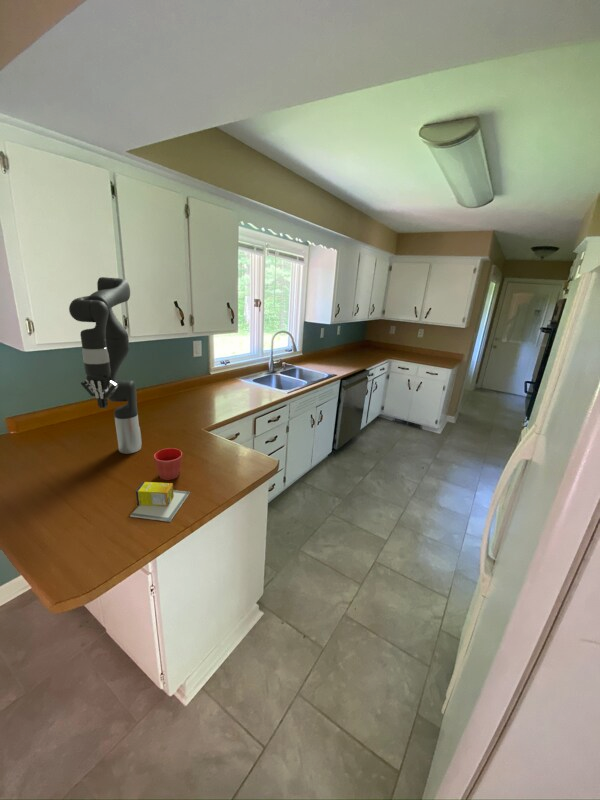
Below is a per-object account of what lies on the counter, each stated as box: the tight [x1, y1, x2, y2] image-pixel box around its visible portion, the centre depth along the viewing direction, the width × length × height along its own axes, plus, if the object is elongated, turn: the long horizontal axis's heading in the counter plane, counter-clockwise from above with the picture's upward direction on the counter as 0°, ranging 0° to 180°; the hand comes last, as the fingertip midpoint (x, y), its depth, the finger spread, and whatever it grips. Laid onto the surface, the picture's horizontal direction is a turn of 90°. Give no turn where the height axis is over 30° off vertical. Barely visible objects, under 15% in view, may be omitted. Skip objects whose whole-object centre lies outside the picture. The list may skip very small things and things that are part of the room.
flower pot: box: [153, 447, 183, 481], centre depth 129 cm, size 11×11×10 cm
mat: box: [130, 489, 191, 523], centre depth 114 cm, size 16×14×1 cm
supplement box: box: [135, 481, 174, 506], centre depth 114 cm, size 6×6×11 cm
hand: (103, 407), depth 114 cm, fingers closed
